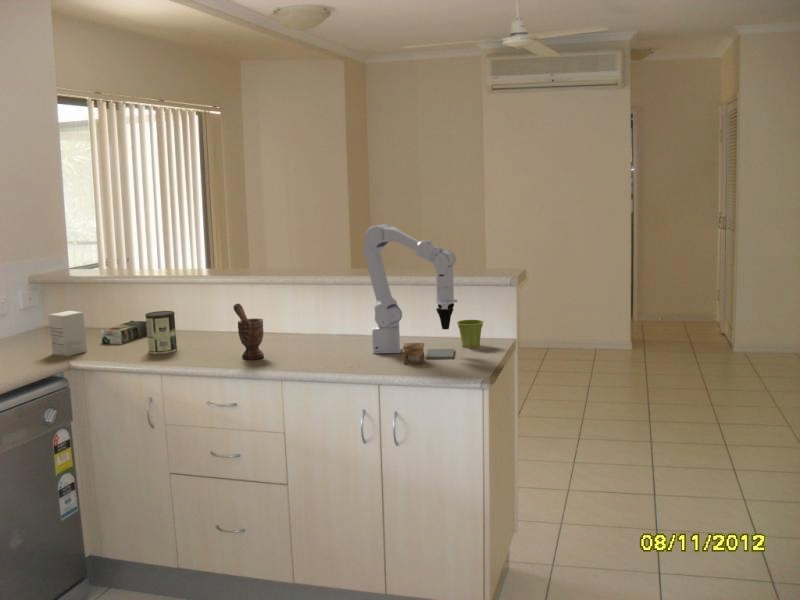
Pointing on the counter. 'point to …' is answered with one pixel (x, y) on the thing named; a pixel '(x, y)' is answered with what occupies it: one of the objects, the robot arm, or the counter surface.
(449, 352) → the slate mat
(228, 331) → the counter surface
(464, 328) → the plant pot
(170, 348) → the coffee can
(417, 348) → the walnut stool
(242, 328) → the mortar and pestle
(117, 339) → the juice carton
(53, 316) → the supplement box
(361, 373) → the counter surface
